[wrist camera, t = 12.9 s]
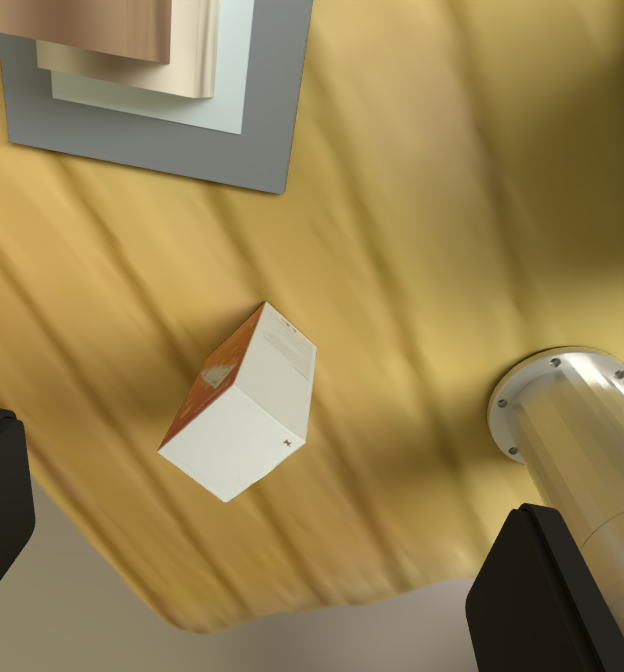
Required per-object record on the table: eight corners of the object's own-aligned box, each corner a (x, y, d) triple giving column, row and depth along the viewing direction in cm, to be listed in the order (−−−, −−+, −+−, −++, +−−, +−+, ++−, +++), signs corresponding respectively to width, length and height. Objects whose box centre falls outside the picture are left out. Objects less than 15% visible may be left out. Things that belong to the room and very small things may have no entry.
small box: (265, 298, 40) (233, 382, 29) (319, 347, 42) (309, 444, 30) (205, 356, 43) (153, 453, 32) (257, 399, 45) (226, 507, 33)
